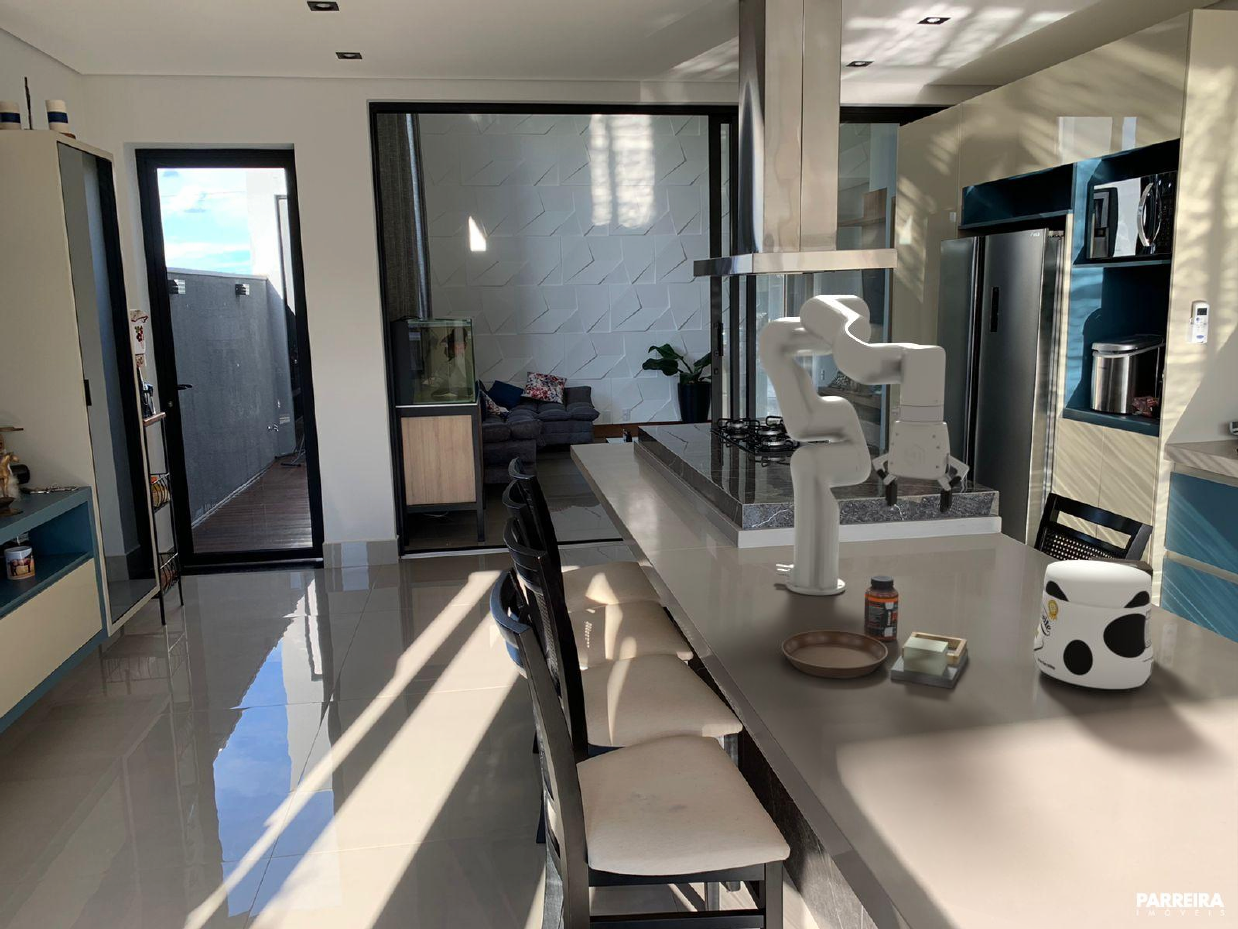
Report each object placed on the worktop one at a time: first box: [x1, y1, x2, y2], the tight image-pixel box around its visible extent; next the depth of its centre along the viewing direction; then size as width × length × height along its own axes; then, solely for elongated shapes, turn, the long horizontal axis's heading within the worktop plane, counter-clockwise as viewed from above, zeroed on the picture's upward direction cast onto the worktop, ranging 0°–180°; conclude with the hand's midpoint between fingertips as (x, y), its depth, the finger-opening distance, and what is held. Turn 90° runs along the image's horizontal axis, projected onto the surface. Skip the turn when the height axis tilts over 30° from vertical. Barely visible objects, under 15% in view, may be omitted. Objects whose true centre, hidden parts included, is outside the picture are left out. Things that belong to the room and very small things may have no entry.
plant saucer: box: [781, 629, 888, 679], centre depth 162 cm, size 18×18×3 cm
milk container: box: [1033, 559, 1155, 693], centre depth 151 cm, size 17×17×18 cm
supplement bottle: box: [863, 574, 899, 642], centre depth 173 cm, size 6×6×11 cm
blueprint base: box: [890, 631, 969, 689], centre depth 159 cm, size 10×16×6 cm, turn 151°
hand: (917, 508), depth 172 cm, fingers open, 9 cm apart
